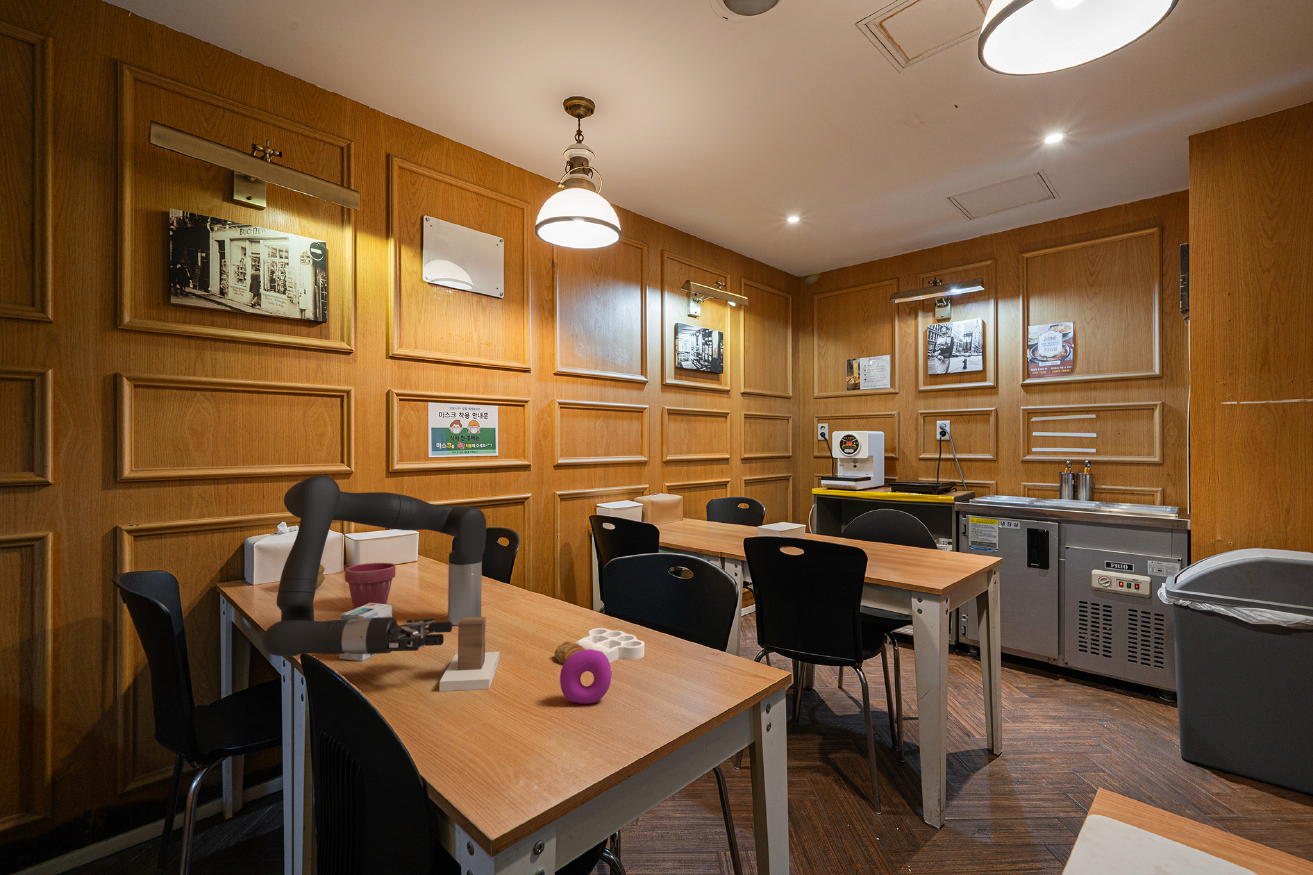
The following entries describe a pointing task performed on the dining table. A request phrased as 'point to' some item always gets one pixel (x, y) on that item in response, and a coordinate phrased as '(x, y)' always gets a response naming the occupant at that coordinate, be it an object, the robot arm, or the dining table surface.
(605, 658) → the donut
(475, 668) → the walnut block
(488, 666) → the plastic platform
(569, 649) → the pastry
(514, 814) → the dining table surface
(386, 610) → the light bulb box
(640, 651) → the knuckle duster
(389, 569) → the plant pot
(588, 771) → the dining table surface
